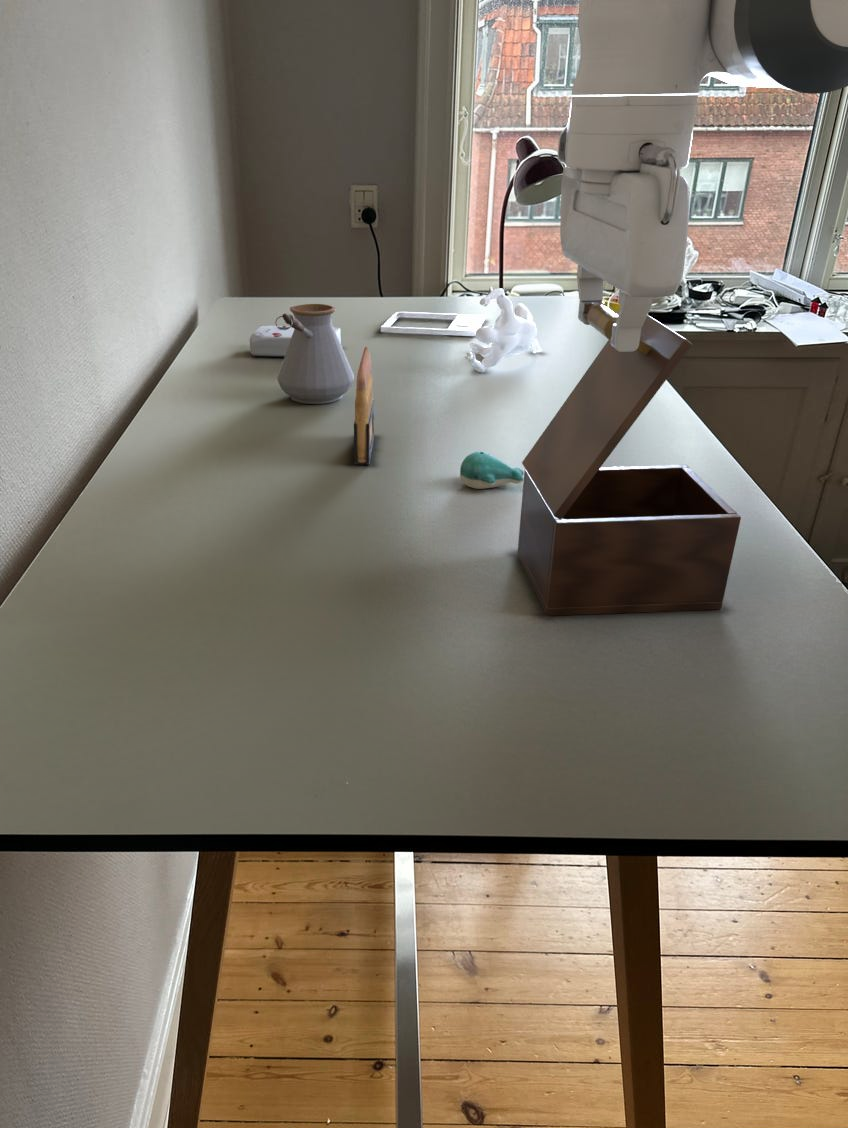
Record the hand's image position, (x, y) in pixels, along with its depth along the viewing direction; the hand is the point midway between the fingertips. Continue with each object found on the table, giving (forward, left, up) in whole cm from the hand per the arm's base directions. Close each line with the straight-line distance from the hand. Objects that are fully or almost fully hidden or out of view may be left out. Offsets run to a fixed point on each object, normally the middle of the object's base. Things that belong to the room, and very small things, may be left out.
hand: (605, 335), depth 74 cm
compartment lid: (0, 0, -6) cm, 6 cm away
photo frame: (-1, -109, -22) cm, 111 cm away
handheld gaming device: (+26, -90, -23) cm, 97 cm away
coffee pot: (+24, -58, -23) cm, 67 cm away
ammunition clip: (+17, -38, -23) cm, 47 cm away
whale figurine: (+3, -25, -23) cm, 34 cm away
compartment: (-4, 0, -22) cm, 23 cm away
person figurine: (-9, -79, -23) cm, 83 cm away
